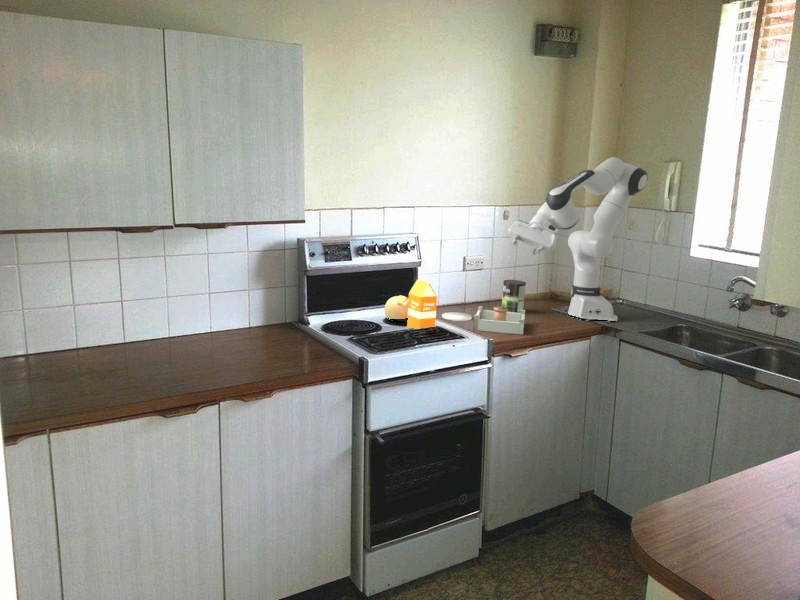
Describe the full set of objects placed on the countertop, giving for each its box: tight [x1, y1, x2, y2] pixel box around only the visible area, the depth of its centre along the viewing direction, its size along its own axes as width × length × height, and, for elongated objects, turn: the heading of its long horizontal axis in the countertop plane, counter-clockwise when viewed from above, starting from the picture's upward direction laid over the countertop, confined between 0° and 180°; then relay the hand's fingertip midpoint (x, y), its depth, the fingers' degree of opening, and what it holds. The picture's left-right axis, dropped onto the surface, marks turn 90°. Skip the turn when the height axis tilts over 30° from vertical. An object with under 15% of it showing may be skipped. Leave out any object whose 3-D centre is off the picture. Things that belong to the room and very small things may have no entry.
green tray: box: [472, 305, 526, 335], centre depth 281 cm, size 20×20×6 cm
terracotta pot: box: [493, 306, 508, 321], centre depth 281 cm, size 6×6×8 cm
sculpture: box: [384, 294, 409, 320], centre depth 284 cm, size 12×12×11 cm
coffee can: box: [501, 279, 527, 313], centre depth 312 cm, size 10×10×14 cm
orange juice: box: [406, 279, 438, 329], centre depth 267 cm, size 8×9×20 cm
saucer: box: [441, 311, 473, 322], centre depth 295 cm, size 13×13×1 cm
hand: (523, 249), depth 276 cm, fingers open, 8 cm apart
